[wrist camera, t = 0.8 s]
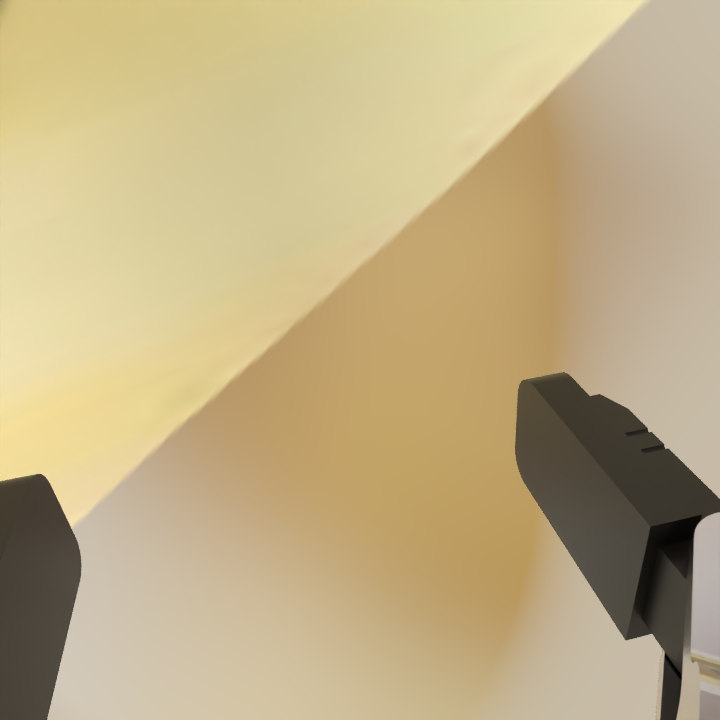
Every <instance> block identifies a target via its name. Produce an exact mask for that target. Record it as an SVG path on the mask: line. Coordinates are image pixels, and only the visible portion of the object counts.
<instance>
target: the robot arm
mask: <svg viewBox="0 0 720 720" xmlns="http://www.w3.org/2000/svg"><path fill="white" fill-rule="evenodd" d="M515 454H516V461H517V465H518V469H519V472H520V474H521V477H522V479H523V481H524V483H525V484H526V486H527V488H528V489H529V491H530V492H531V494H532V496H533V497H534V499H535V500H536V502H537V503H538V505H539V506H540V508H541V509H542V511H543V513H544V514H545V516H546V517H547V519H548V520H549V522H550V524H551V525H552V527H553V528H554V530H555V531H556V533H557V534H558V536H559V537H560V539H561V541H562V542H563V544H564V545H565V547H566V548H567V550H568V551H569V553H570V554H571V556H572V558H573V559H574V561H575V562H576V564H577V566H578V567H579V569H580V570H581V572H582V573H583V575H584V576H585V578H586V579H587V581H588V583H589V584H590V586H591V587H592V589H593V590H594V592H595V593H596V595H597V597H598V598H599V600H600V601H601V603H602V604H603V606H604V607H605V609H606V610H607V612H608V614H609V615H610V617H611V618H612V620H613V621H614V623H615V624H616V626H617V628H618V629H619V631H620V632H621V634H622V635H623V637H624V638H625V640H629V639H633V638H637V637H641V636H645V635H648V634H653V635H654V637H655V638H656V640H657V641H658V643H659V644H660V645H661V647H662V648H663V650H662V654H661V658H660V666H659V680H658V695H657V707H656V720H720V499H719V498H718V497H717V496H716V495H715V494H714V493H713V492H712V491H711V490H710V489H709V488H708V487H707V486H706V485H705V484H704V483H703V482H702V481H701V480H700V479H699V478H698V477H697V476H696V475H695V474H694V473H693V472H692V471H691V470H690V469H689V468H687V466H685V464H684V463H683V462H682V461H680V459H678V457H676V456H675V455H674V454H673V453H672V452H671V451H670V450H669V449H665V447H664V444H663V443H662V442H661V441H660V440H659V439H658V438H657V437H656V436H655V435H654V434H653V433H652V432H650V433H649V432H648V428H647V427H646V426H645V425H644V424H643V423H642V422H641V421H640V420H639V419H638V418H637V417H636V416H635V415H634V414H633V413H632V412H631V411H630V410H629V409H627V408H625V407H624V406H622V405H620V404H618V403H616V402H614V401H612V400H610V399H608V398H606V397H604V396H602V395H600V394H598V395H594V396H589V395H588V394H587V393H586V392H585V391H584V390H583V389H582V388H581V387H580V386H579V384H577V382H576V381H575V380H574V379H573V378H572V377H571V376H570V375H569V374H567V373H564V372H563V373H557V374H552V375H547V376H542V377H536V378H531V379H526V380H523V381H521V383H520V385H519V389H518V403H517V423H516V442H515ZM80 577H81V556H80V550H79V546H78V542H77V540H76V538H75V535H74V534H73V531H72V529H71V527H70V525H69V523H68V521H67V519H66V516H65V514H64V512H63V510H62V508H61V506H60V504H59V502H58V500H57V498H56V495H55V493H54V491H53V489H52V487H51V485H50V483H49V481H48V480H47V478H46V477H45V476H43V475H42V474H36V475H31V476H25V477H20V478H15V479H10V480H5V481H0V720H47V717H48V713H49V708H50V704H51V700H52V696H53V692H54V688H55V683H56V679H57V675H58V671H59V666H60V662H61V658H62V654H63V650H64V645H65V641H66V637H67V633H68V629H69V624H70V620H71V616H72V612H73V607H74V603H75V599H76V594H77V591H78V586H79V582H80Z"/></svg>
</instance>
